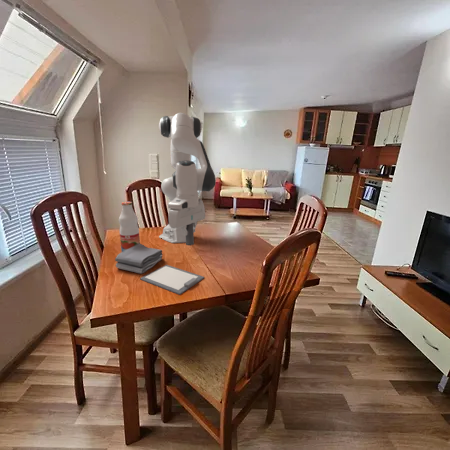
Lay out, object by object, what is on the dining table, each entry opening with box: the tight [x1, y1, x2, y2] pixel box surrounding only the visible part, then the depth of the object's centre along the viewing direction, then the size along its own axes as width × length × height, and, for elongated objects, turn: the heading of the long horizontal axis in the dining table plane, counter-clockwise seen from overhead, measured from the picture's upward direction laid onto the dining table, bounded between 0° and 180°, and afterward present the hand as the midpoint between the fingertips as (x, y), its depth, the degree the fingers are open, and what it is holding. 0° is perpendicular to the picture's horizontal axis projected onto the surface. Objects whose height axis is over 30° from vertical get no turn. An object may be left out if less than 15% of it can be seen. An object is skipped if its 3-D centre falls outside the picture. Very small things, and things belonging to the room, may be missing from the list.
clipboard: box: [139, 264, 205, 295], centre depth 107 cm, size 22×16×2 cm
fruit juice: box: [118, 201, 141, 252], centre depth 127 cm, size 9×9×28 cm
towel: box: [114, 242, 164, 274], centre depth 119 cm, size 15×18×8 cm
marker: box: [185, 215, 195, 246], centre depth 105 cm, size 4×4×13 cm
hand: (189, 233), depth 105 cm, fingers closed on marker, 3 cm apart
